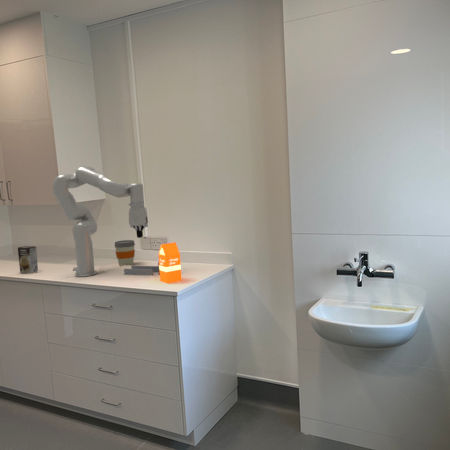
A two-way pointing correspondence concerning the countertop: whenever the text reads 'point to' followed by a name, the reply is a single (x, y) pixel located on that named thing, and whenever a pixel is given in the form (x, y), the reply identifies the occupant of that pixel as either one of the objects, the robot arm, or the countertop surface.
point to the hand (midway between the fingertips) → (139, 237)
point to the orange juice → (169, 263)
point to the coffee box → (28, 259)
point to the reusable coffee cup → (125, 252)
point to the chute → (141, 270)
